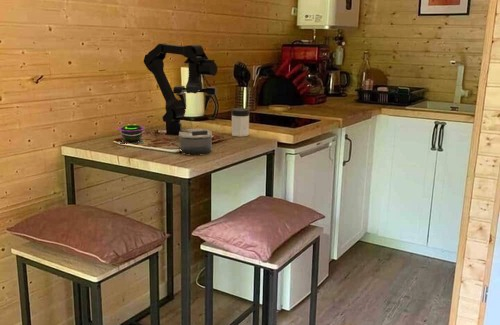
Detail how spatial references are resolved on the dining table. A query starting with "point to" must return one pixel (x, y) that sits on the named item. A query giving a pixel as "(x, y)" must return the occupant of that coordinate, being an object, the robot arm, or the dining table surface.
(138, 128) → the toy cauldron
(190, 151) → the cooker pot
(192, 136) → the cooker lid
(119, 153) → the dining table surface
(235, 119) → the jar
